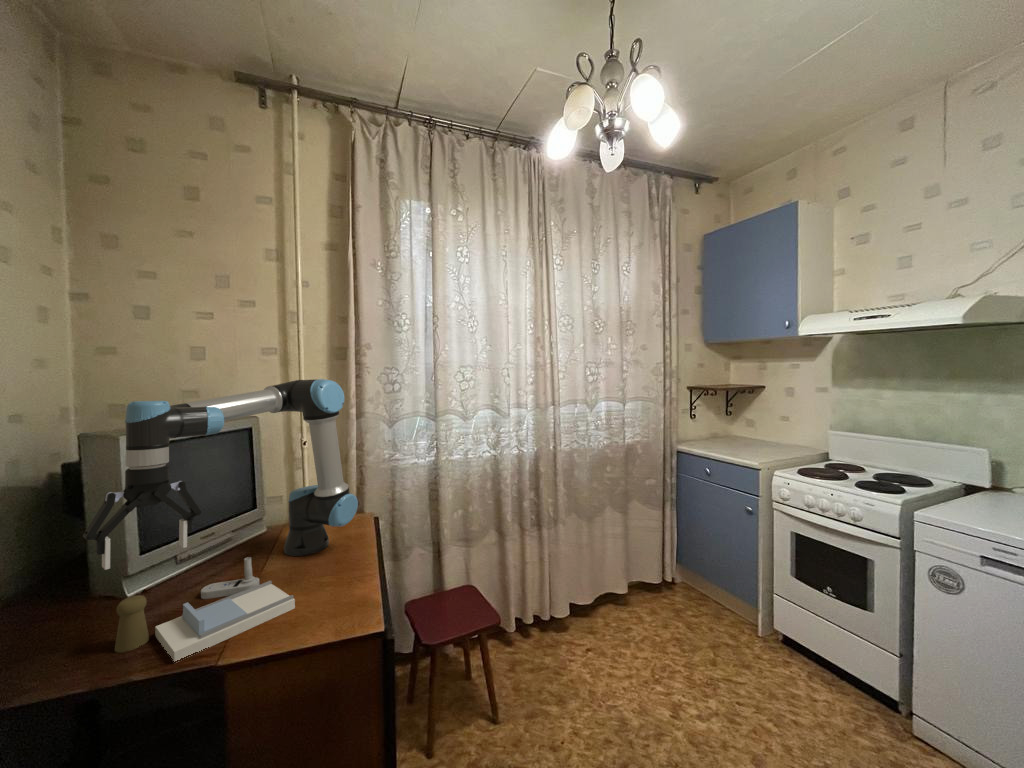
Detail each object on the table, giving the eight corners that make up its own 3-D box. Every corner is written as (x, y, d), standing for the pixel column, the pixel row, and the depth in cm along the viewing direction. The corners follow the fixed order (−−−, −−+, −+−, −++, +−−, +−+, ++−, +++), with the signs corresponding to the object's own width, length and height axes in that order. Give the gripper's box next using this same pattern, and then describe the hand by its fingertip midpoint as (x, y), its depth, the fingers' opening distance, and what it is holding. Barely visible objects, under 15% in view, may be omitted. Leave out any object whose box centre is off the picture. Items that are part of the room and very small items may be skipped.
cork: (129, 636, 96) (129, 592, 96) (156, 634, 97) (155, 591, 97) (106, 653, 90) (106, 606, 90) (134, 651, 91) (134, 604, 91)
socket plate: (269, 590, 117) (269, 579, 117) (294, 608, 108) (294, 596, 108) (155, 636, 96) (155, 623, 96) (174, 663, 87) (174, 648, 87)
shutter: (229, 600, 107) (228, 587, 107) (247, 616, 100) (247, 601, 100) (183, 618, 99) (182, 604, 99) (199, 636, 92) (199, 621, 92)
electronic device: (205, 560, 118) (260, 553, 121) (206, 592, 118) (262, 584, 121) (195, 568, 112) (254, 560, 116) (197, 602, 113) (255, 593, 116)
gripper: (204, 456, 104) (204, 536, 104) (64, 474, 83) (63, 573, 83) (216, 459, 100) (216, 541, 100) (72, 478, 79) (71, 583, 79)
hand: (146, 556), depth 91 cm, fingers open, 13 cm apart
